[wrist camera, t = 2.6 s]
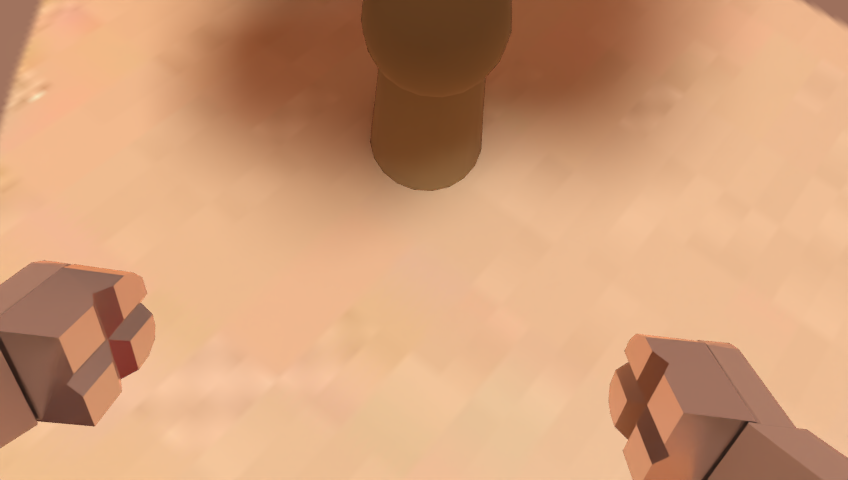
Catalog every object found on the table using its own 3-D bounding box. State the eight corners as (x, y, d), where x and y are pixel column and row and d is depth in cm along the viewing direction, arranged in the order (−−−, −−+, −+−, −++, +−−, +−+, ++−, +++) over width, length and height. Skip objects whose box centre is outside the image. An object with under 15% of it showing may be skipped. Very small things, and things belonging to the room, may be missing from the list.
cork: (431, 68, 26) (447, -127, 16) (504, 143, 25) (575, -8, 15) (347, 132, 25) (302, -30, 15) (421, 213, 24) (431, 105, 14)
